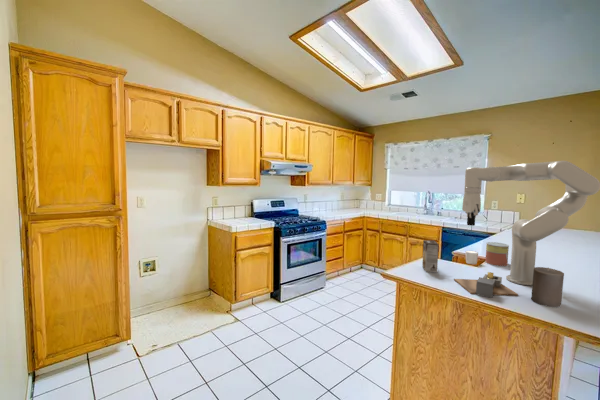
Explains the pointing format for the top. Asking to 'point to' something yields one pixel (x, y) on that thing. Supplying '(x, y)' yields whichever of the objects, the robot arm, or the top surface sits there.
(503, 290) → the board
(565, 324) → the top surface
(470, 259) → the white cup
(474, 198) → the robot arm
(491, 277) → the pintle
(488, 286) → the block
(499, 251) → the canned food
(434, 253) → the coffee box
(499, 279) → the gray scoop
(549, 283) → the pillar candle
